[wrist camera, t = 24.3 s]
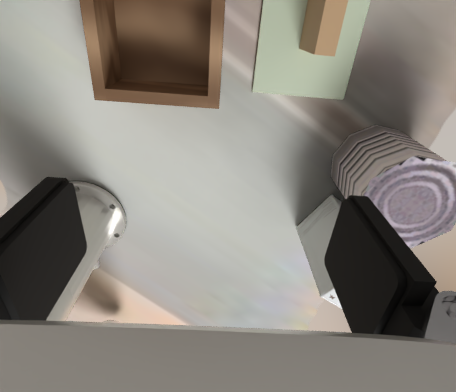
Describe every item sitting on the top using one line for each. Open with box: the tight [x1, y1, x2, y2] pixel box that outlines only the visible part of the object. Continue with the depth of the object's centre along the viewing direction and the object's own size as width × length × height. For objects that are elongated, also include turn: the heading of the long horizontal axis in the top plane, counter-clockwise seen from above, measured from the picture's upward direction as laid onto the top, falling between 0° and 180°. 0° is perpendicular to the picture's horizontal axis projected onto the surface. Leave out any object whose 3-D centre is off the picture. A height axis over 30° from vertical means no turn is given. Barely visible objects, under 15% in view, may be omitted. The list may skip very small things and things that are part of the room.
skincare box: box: [296, 195, 343, 310], centre depth 41 cm, size 8×6×15 cm
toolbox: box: [80, 0, 225, 109], centre depth 29 cm, size 18×14×9 cm
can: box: [331, 125, 456, 248], centre depth 38 cm, size 11×11×12 cm
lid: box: [252, 0, 371, 100], centre depth 31 cm, size 17×12×8 cm
